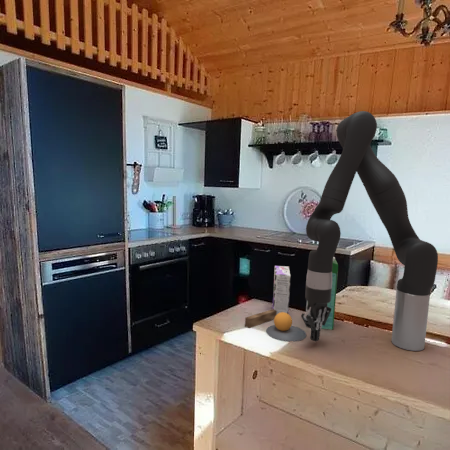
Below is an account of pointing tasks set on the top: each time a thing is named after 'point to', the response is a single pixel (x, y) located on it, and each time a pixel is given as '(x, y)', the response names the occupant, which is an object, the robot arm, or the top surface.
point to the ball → (283, 321)
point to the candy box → (281, 289)
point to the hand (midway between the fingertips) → (314, 340)
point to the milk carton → (331, 304)
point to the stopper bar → (260, 318)
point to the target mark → (286, 333)
